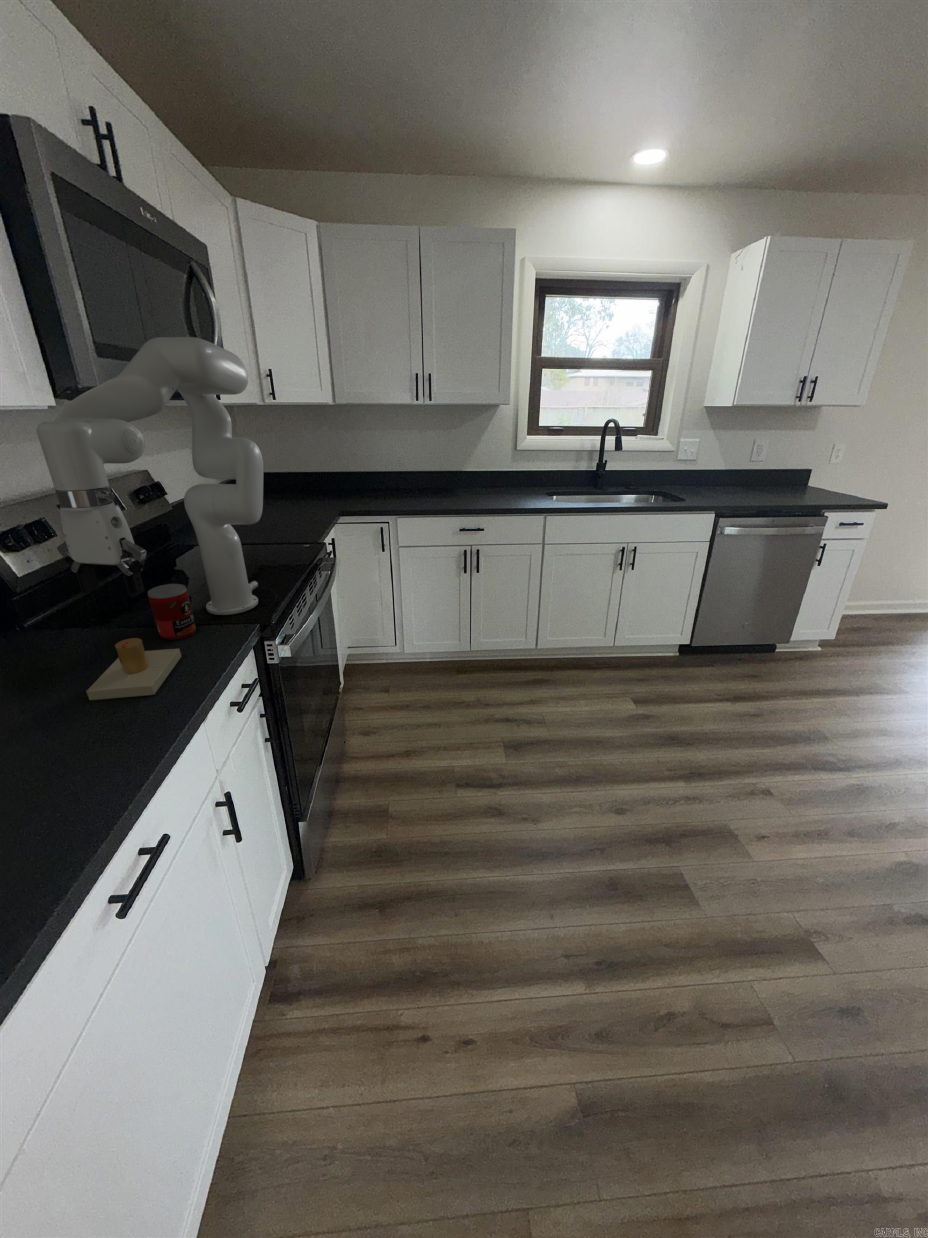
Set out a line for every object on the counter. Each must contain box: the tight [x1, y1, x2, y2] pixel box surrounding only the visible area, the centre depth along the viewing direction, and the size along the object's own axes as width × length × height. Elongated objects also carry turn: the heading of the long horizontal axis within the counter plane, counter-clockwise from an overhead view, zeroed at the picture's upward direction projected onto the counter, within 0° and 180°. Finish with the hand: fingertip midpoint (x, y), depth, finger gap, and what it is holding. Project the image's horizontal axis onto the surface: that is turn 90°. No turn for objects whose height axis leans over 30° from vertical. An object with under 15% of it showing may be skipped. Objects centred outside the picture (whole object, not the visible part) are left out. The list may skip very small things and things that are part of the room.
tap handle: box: [114, 637, 149, 674], centre depth 96 cm, size 4×4×6 cm
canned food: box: [147, 583, 197, 641], centre depth 114 cm, size 8×8×11 cm
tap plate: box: [85, 648, 182, 701], centre depth 98 cm, size 15×11×2 cm
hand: (113, 592), depth 91 cm, fingers open, 9 cm apart
